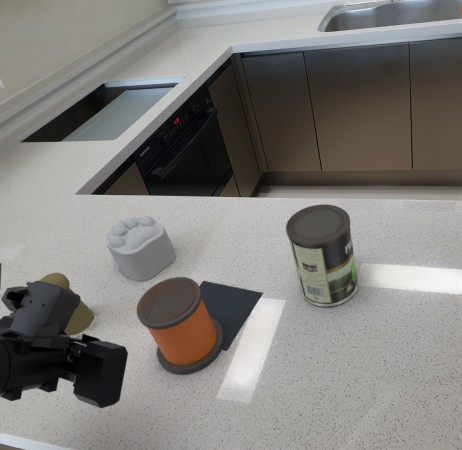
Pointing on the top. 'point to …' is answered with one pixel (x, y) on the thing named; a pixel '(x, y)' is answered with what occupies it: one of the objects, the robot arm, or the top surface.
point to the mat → (228, 307)
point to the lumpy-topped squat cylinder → (140, 247)
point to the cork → (81, 314)
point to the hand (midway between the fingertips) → (112, 348)
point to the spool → (180, 325)
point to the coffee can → (323, 254)
